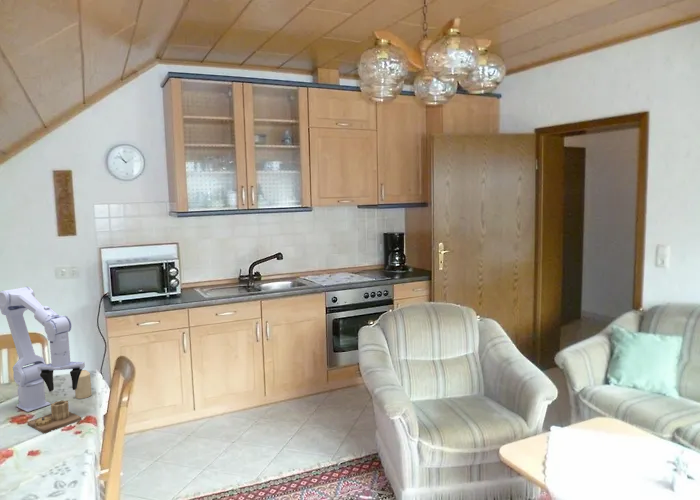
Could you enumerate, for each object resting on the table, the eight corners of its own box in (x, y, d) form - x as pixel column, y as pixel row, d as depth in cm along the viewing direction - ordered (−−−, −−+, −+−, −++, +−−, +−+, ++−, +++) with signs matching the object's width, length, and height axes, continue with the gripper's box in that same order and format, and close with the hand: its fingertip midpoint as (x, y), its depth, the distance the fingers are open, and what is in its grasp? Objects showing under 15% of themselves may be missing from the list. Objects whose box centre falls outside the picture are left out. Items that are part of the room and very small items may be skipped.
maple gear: (49, 418, 172) (47, 404, 171) (64, 412, 176) (63, 399, 176) (56, 421, 169) (55, 407, 168) (72, 416, 173) (71, 402, 173)
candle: (84, 399, 191) (82, 373, 190) (72, 398, 192) (70, 373, 191) (95, 393, 196) (93, 368, 195) (82, 393, 197) (80, 368, 196)
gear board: (27, 424, 170) (26, 411, 169) (64, 412, 179) (63, 398, 179) (44, 433, 163) (43, 419, 162) (81, 419, 173) (80, 406, 172)
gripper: (32, 356, 169) (35, 395, 171) (78, 354, 171) (81, 392, 173) (41, 350, 176) (44, 388, 177) (85, 348, 178) (88, 384, 180)
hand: (63, 389), depth 176 cm, fingers open, 7 cm apart
